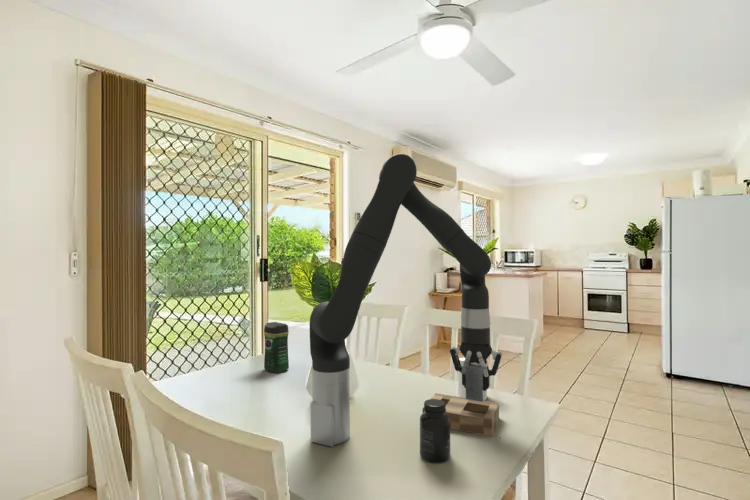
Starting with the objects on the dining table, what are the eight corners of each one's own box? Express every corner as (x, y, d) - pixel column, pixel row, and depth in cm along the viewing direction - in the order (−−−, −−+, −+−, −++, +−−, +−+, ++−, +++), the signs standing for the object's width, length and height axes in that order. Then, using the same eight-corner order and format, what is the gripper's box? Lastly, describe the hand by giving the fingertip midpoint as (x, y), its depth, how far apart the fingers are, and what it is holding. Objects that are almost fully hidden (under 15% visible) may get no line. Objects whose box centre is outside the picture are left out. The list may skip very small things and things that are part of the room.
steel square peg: (482, 401, 101) (482, 367, 101) (465, 399, 103) (465, 365, 103) (485, 396, 105) (485, 362, 105) (469, 393, 107) (469, 361, 107)
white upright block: (465, 403, 118) (464, 363, 118) (453, 392, 127) (452, 355, 127) (492, 400, 120) (491, 361, 120) (478, 390, 129) (478, 354, 129)
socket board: (491, 436, 96) (491, 420, 96) (422, 422, 104) (422, 408, 104) (498, 417, 107) (498, 403, 107) (435, 406, 115) (435, 393, 115)
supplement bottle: (456, 461, 85) (455, 406, 85) (427, 466, 83) (427, 410, 83) (442, 446, 92) (441, 395, 92) (415, 451, 90) (414, 398, 90)
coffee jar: (292, 370, 152) (292, 322, 152) (274, 374, 146) (274, 325, 146) (278, 365, 158) (278, 319, 158) (260, 369, 153) (260, 322, 153)
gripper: (445, 325, 104) (445, 389, 104) (501, 329, 98) (501, 397, 98) (452, 320, 111) (453, 380, 111) (505, 324, 105) (505, 388, 104)
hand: (475, 388), depth 104 cm, fingers closed on steel square peg, 4 cm apart
